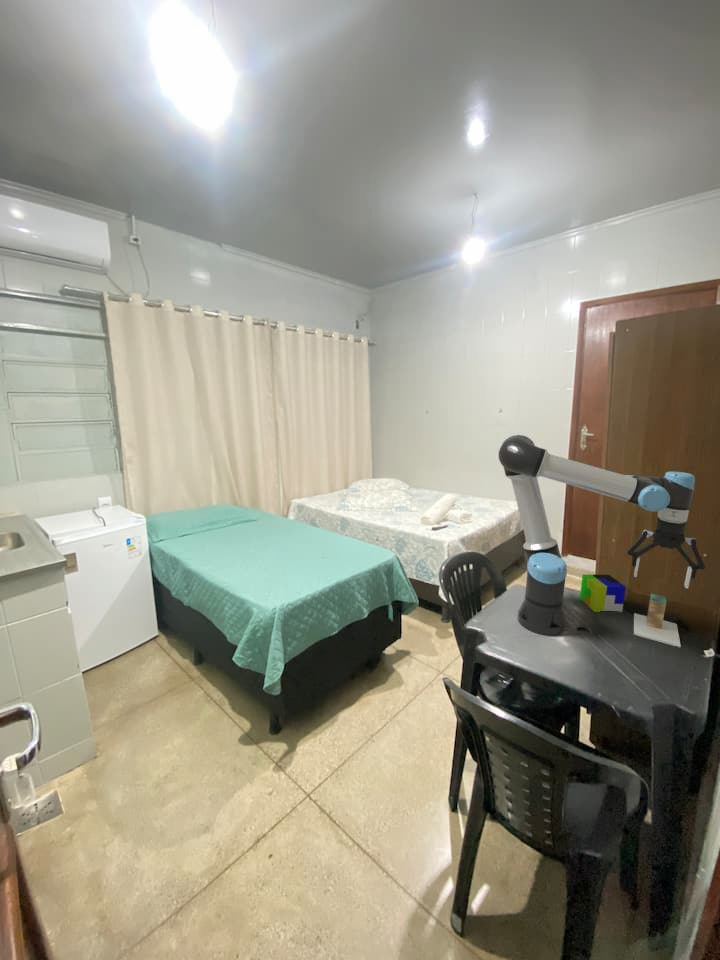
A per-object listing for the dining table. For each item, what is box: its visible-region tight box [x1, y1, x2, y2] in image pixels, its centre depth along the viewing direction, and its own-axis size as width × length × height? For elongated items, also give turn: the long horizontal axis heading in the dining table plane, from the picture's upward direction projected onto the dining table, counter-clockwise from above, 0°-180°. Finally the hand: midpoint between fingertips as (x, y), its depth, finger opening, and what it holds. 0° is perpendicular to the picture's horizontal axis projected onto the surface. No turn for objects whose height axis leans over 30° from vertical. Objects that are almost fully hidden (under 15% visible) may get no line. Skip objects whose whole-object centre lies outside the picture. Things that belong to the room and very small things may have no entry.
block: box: [646, 593, 667, 629], centre depth 133 cm, size 4×4×10 cm
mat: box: [633, 612, 682, 648], centre depth 132 cm, size 12×15×1 cm
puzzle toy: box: [579, 573, 627, 613], centre depth 147 cm, size 10×10×10 cm
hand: (659, 581), depth 131 cm, fingers open, 13 cm apart
